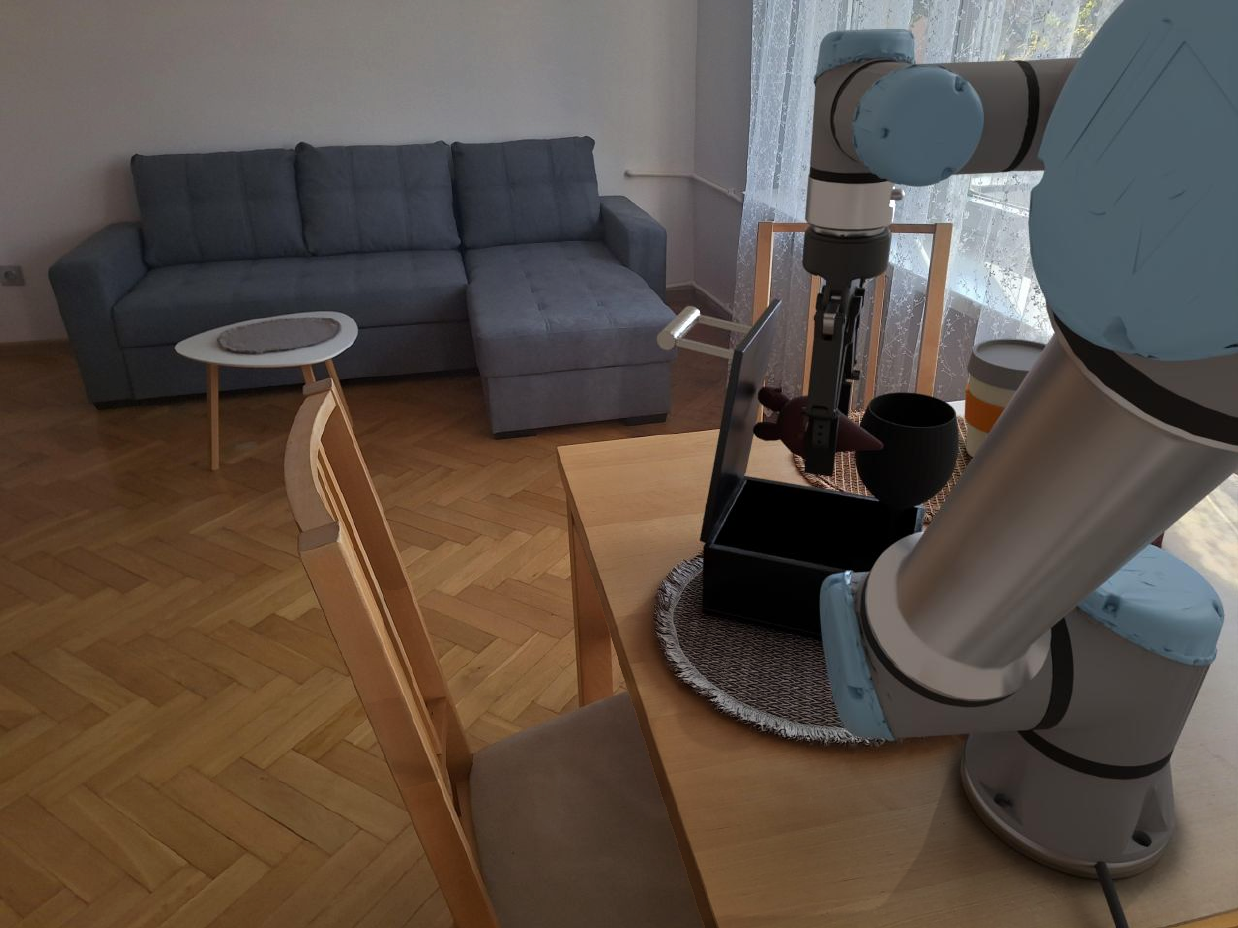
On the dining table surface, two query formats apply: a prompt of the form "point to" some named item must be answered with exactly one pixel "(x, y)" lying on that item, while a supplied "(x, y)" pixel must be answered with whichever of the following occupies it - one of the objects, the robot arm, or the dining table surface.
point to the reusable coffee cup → (994, 382)
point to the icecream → (806, 425)
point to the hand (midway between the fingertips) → (825, 455)
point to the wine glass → (906, 454)
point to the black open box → (790, 551)
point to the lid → (730, 398)
